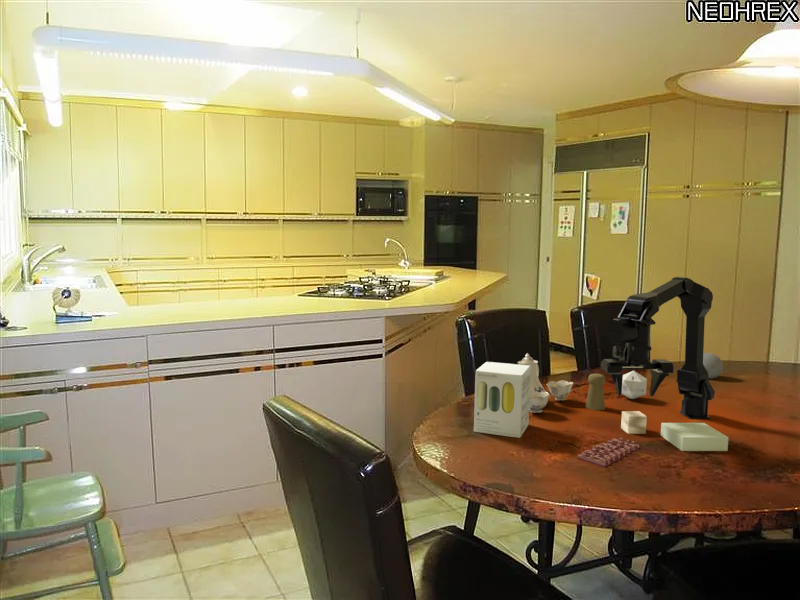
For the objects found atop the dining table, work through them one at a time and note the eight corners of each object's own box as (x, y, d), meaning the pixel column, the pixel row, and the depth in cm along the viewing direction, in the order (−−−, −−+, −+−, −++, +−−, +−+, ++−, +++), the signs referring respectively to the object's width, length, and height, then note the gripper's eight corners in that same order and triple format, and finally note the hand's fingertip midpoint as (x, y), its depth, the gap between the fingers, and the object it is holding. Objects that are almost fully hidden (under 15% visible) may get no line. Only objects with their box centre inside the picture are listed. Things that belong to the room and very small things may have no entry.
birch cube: (638, 428, 179) (639, 411, 178) (645, 433, 174) (646, 416, 173) (620, 428, 178) (621, 411, 178) (628, 433, 173) (629, 416, 173)
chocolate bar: (640, 449, 162) (640, 442, 162) (604, 468, 149) (604, 460, 149) (614, 442, 168) (614, 435, 167) (577, 459, 154) (577, 452, 154)
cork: (606, 411, 194) (608, 376, 193) (586, 410, 195) (587, 375, 194) (604, 406, 200) (605, 372, 199) (584, 404, 201) (586, 371, 200)
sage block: (703, 436, 173) (704, 422, 172) (727, 452, 161) (728, 437, 160) (660, 436, 172) (661, 422, 172) (681, 452, 160) (682, 437, 160)
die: (617, 401, 206) (619, 372, 205) (619, 395, 214) (620, 366, 213) (645, 404, 203) (647, 374, 201) (645, 398, 211) (647, 369, 210)
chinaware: (547, 421, 183) (549, 366, 181) (495, 412, 192) (496, 359, 190) (576, 400, 207) (579, 351, 205) (528, 392, 216) (530, 345, 214)
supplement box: (472, 432, 173) (474, 370, 171) (484, 418, 185) (485, 360, 183) (520, 438, 168) (522, 374, 166) (529, 424, 180) (531, 365, 178)
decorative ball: (699, 374, 247) (701, 349, 246) (726, 379, 240) (728, 353, 238) (688, 378, 240) (690, 352, 239) (715, 383, 233) (717, 356, 232)
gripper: (658, 336, 182) (655, 388, 183) (595, 335, 181) (592, 388, 183) (676, 343, 170) (673, 399, 172) (609, 343, 170) (606, 399, 171)
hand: (635, 396), depth 175 cm, fingers open, 9 cm apart
